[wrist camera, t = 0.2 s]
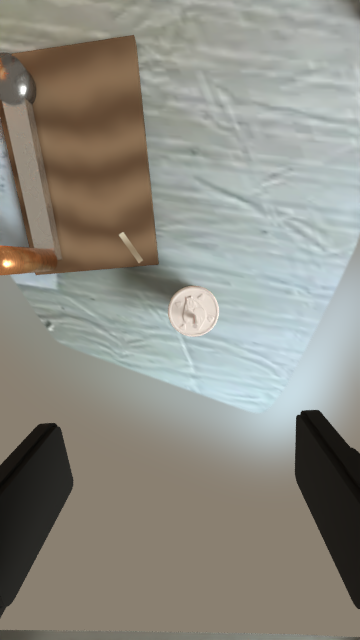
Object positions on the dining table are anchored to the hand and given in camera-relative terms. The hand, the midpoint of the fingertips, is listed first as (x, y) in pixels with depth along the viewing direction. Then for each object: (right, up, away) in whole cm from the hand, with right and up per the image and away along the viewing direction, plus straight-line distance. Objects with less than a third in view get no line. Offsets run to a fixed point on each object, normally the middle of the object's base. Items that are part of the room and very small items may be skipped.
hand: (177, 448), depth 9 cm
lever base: (-14, +27, +26) cm, 40 cm away
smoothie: (+2, +8, +30) cm, 31 cm away
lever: (-20, +25, +25) cm, 41 cm away
